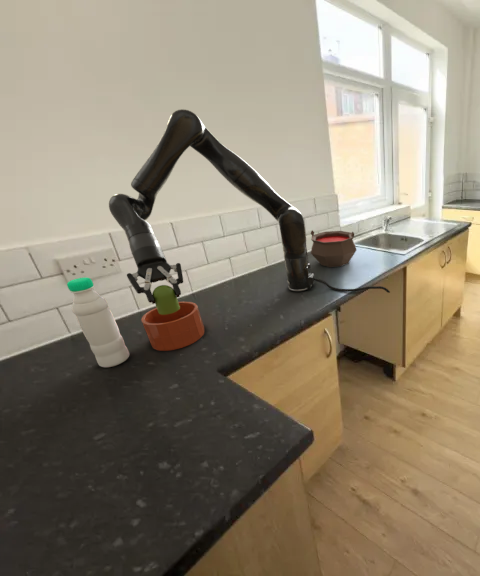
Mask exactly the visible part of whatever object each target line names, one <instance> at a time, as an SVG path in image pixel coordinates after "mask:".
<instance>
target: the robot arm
mask: <svg viewBox="0 0 480 576" xmlns="http://www.w3.org/2000/svg"><path fill="white" fill-rule="evenodd" d="M188 148H191V149H193V150H194V151H196V152H197V153H199V154H200V155H201V156H202V157H204V158H205V159H206V160H207V161H208V162H209V163H210V164H211V165H212V166H213V167H214V169H216V170H217V172H218V173H219V174H220V175H221V176H222V177H223V178H224V179H225V180H226V181H227V182H228V183H229V184H231V186H233V187H234V188H235V189H236V190H238V191H239V193H241V194H242V195H244V196H245V197H247V198H248V199H250V200H251V201H253V202H254V203H256V204H257V205H259V206H260V207H262V208H263V209H265V210H266V211H267V212H268V213H269V215H271V216H272V217H273V218H274V220H276V221H277V223H278V226H279V232H280V239H281V247H282V252H283V259H284V266H285V272H286V278H287V279H286V282H287V285H288V290H289V291H290V292H294V293H300V292H305V291H311V289H312V287H313V285H314V284H315V282H318V283H320V284H323V285H325V286H326V287H327V288H328V289H331V290H333V291H337V292H359V291H364V290H384V291H385V292H386V293H388V294H389V293H391V291H390V290H389V289H388V288H387V287H385V286H382V285H381V286H380V285H377V286H376V285H375V286H370V285H369V286H364V287H358V288H337V287H335V286H331V285H330V284H329V283H328V282H326V281H324V280H323V279H319V278H316V277H315V273H312V269H311V264H310V263H309V257H308V256H309V255H308V248H307V247H308V246H307V233H306V232H307V231H306V225H305V219H304V215H303V214H302V213H301V212H300V210H299V209H298V208H296V207H295V206H293V205H292V204H290V203H289V202H288V201H287V200H285V199H284V198H283V197H281V196H280V195H279V194H278V193H277V192H276V191H275V190H274V189H273V187H272V186H271V185H270V184H269V183H268V182H267V181H266V180H265V179H264V178H263V177H262V176H261V174H260V173H259V172H258V171H257V170H256V169H255V168H253V166H251V165H250V164H249V163H248V162H246V160H244V159H243V158H242V157H240V156H239V155H238V154H236V153H235V152H233V151H232V150H230V149H229V148H228V147H227V146H225V145H224V144H223V143H221V141H220V140H218V139H217V138H216V137H215V135H213V133H211V131H210V130H209V129H208V128H207V127H206V126H205V125H204V123H203V122H202V120H201V119H200V117H199V116H198V115H197V114H196V113H195V112H193V111H191V110H189V109H184V108H183V109H177V110H174V111H173V112H172V113H171V115H170V116H169V119H168V122H167V124H166V127H165V129H164V131H163V134H162V136H161V137H160V140H159V142H158V143H157V145H156V147H155V148H154V150H153V151H152V152H151V154H150V155H149V157H147V159H146V161H145V162H144V164H143V165H142V166H141V168H140V169H139V170H138V172H137V173H136V174H135V176H134V177H133V179H132V180H131V182H130V187H131V188H132V189H133V190H134V191H136V192H137V193H138V197H137V198H135V197H132V196H131V195H128V194H125V193H116V194H114V195H111V197H110V199H109V201H108V209H109V211H110V214H111V215H112V217H113V218H114V220H115V222H117V224H118V225H119V226H120V227H121V228H122V230H123V231H124V233H125V236H126V238H127V241H128V245H129V249H130V252H131V255H132V257H133V261H134V262H135V265H136V267H137V271H136V272H133V273H131V272H129V273H127V274H126V278H127V280H128V282H129V283H130V284H131V286H132V287H133V289H134V291H135V292H136V294H145V296H146V299H147V302H148V303H149V304H150V303H151V304H152V305H154V304H155V301H154V298H153V295H152V294H153V292H152V291H151V288H152V286H153V284H154V283H157V282H162V281H166V282H167V283H169V284H170V285H171V286H172V288H173V289H174V291H175V294H176V297H177V298H180V296H181V295H182V291H181V288H180V286H179V285H181V284H184V277H183V269H182V265H181V263H180V262H177V263H175V264H170V263H169V262H168V261H167V258H166V255H165V254H164V251H163V248H162V246H161V243H160V241H159V240H158V237H156V234H155V232H154V229H153V226H152V225H151V224H150V222H148V221H147V220H148V219H149V218H150V217H151V215H152V213H153V209H154V205H155V202H156V199H157V196H158V194H159V193H160V191H161V190H162V188H163V187H164V185H165V184H166V182H167V181H168V179H169V178H170V176H171V174H172V172H173V170H174V168H175V166H176V164H177V163H178V161H179V159H180V158H181V157H182V155H183V154H184V153H185V152H186V151H187V149H188ZM171 270H173V272H174V273H176V274H177V278H174V277H173V276H172V274H170V273H171ZM139 278H142V279H144V285H143V286H140V284H139V283H138V280H139ZM155 305H156V304H155Z"/></svg>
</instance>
